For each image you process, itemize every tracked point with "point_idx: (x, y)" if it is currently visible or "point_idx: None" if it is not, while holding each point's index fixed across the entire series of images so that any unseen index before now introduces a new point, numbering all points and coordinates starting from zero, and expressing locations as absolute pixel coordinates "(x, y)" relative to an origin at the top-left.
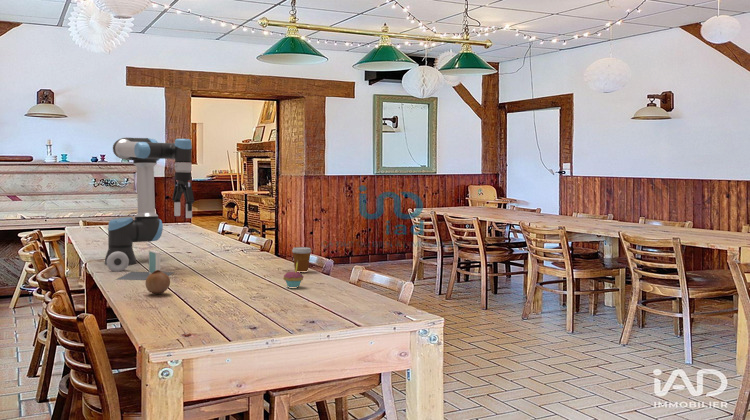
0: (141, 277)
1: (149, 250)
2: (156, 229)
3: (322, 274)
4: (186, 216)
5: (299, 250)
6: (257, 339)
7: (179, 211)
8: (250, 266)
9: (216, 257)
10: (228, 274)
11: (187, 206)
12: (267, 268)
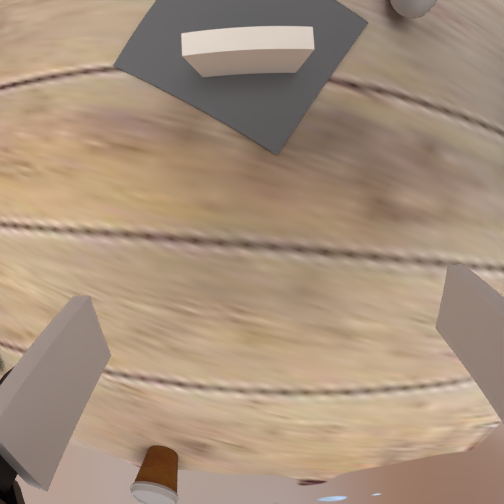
0: (207, 11)
1: (301, 26)
2: None
3: (127, 461)
4: (65, 307)
5: (133, 488)
6: None
7: (462, 350)
8: (306, 413)
9: None
10: (181, 324)
11: (3, 408)
12: (250, 432)
